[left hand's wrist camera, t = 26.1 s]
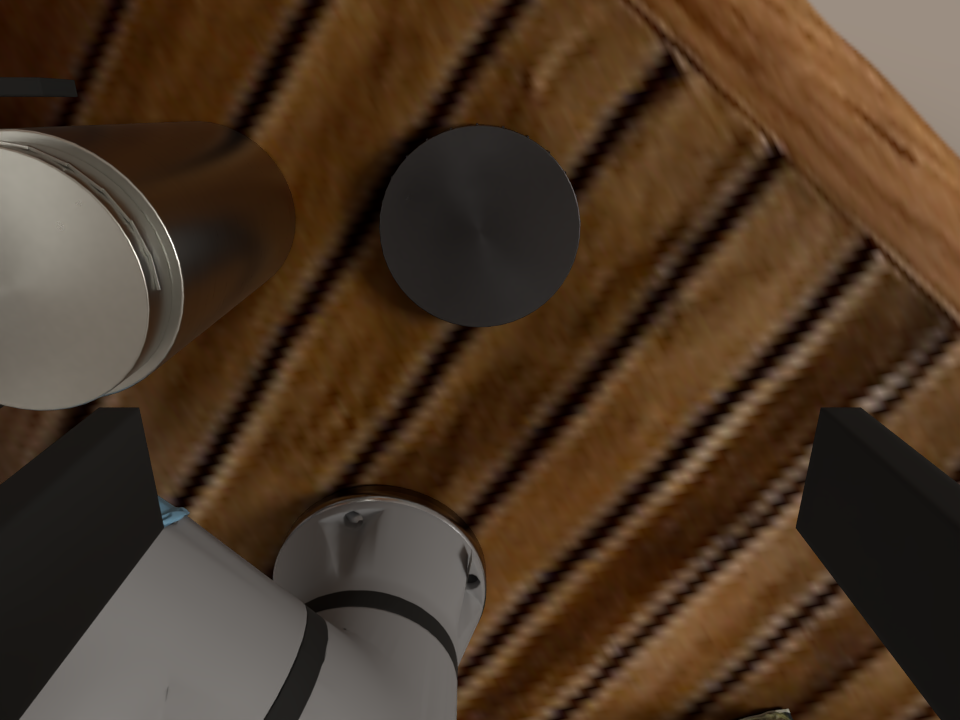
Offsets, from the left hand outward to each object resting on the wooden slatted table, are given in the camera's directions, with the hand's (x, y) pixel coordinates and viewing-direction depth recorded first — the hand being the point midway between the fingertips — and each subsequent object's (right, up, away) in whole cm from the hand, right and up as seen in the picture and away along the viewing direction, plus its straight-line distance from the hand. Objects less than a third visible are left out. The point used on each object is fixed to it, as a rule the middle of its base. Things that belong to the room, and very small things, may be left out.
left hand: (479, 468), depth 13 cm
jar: (-16, +11, +26) cm, 33 cm away
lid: (0, +10, +25) cm, 26 cm away
